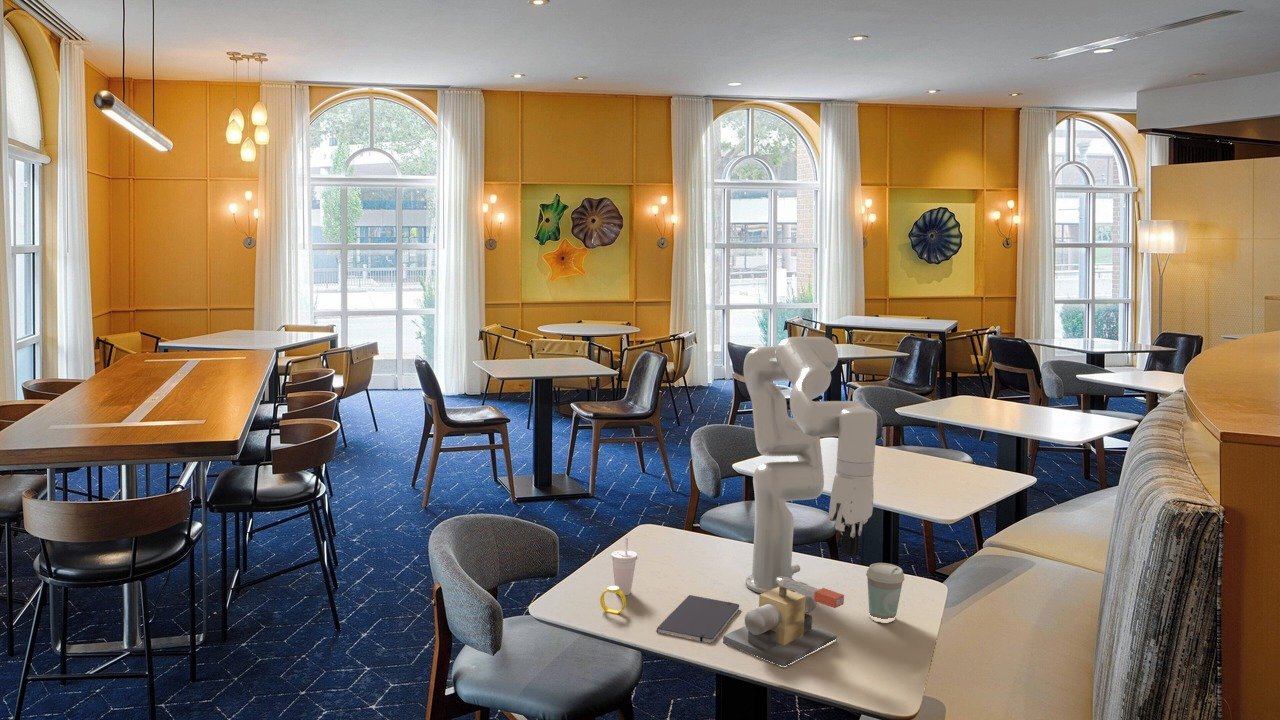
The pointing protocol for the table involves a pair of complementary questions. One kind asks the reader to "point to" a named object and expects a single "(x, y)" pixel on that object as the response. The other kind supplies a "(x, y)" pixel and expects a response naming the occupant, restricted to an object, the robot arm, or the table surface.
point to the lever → (812, 592)
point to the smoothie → (624, 568)
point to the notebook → (699, 618)
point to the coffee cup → (884, 589)
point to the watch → (613, 590)
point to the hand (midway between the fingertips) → (849, 553)
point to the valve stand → (780, 628)
